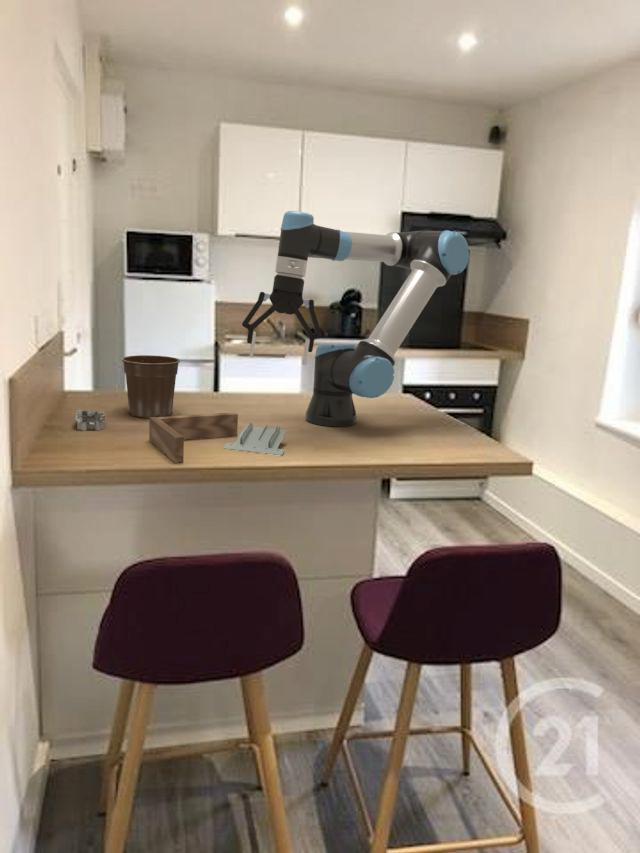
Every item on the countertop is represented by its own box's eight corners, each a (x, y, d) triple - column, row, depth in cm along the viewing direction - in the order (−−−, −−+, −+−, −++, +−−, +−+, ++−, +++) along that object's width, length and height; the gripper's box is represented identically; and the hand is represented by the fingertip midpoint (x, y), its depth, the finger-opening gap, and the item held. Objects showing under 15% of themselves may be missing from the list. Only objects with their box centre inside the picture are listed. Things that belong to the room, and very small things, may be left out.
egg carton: (104, 431, 179) (104, 416, 178) (74, 432, 177) (73, 416, 176) (106, 421, 189) (106, 407, 188) (77, 421, 187) (77, 406, 186)
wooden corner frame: (234, 434, 184) (234, 412, 182) (266, 454, 168) (267, 430, 166) (149, 440, 172) (149, 417, 171) (174, 463, 156) (175, 437, 154)
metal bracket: (239, 417, 180) (294, 423, 177) (240, 436, 183) (295, 442, 180) (220, 445, 168) (280, 452, 165) (222, 465, 171) (280, 472, 168)
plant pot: (131, 405, 208) (131, 352, 204) (184, 409, 208) (185, 356, 204) (114, 418, 192) (113, 361, 188) (171, 422, 192) (172, 365, 188)
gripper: (240, 267, 165) (228, 355, 169) (341, 284, 169) (327, 369, 173) (239, 268, 173) (228, 352, 176) (336, 284, 177) (323, 365, 180)
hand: (277, 360), depth 175 cm, fingers open, 13 cm apart
